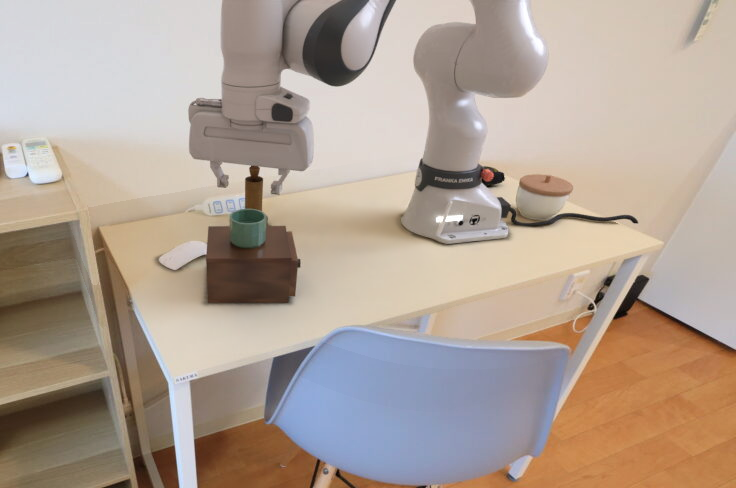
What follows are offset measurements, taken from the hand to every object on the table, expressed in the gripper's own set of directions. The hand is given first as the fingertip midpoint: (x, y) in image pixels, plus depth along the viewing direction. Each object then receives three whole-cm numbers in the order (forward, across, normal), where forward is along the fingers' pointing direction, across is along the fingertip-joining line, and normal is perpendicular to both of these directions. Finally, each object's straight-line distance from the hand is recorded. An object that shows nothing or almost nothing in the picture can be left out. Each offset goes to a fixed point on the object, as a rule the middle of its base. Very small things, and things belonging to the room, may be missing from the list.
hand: (249, 189), depth 87 cm
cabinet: (+19, 0, 0) cm, 19 cm away
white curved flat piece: (+19, -15, +6) cm, 25 cm away
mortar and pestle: (+19, -7, +24) cm, 31 cm away
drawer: (+18, +2, +1) cm, 18 cm away
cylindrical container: (+10, 0, 0) cm, 10 cm away
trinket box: (+19, +53, +52) cm, 77 cm away
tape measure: (+19, +43, +68) cm, 83 cm away
